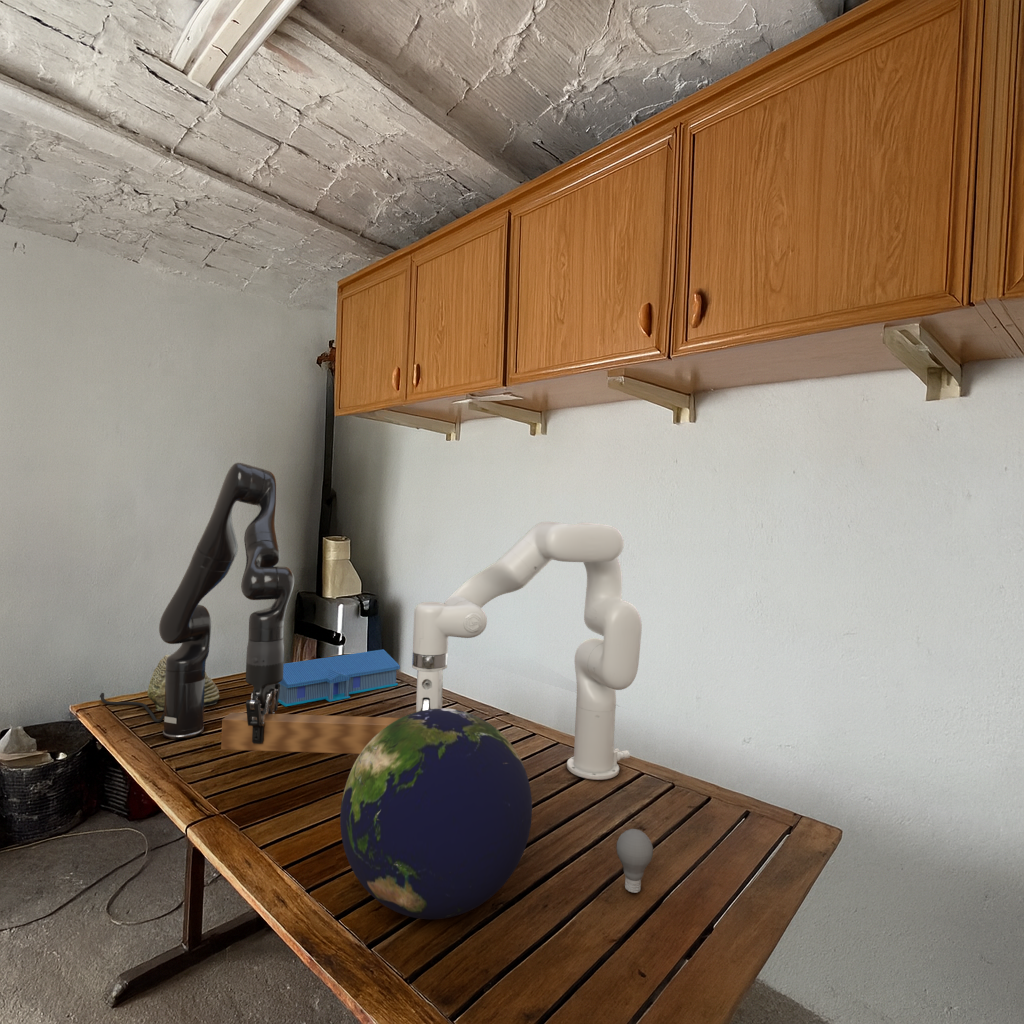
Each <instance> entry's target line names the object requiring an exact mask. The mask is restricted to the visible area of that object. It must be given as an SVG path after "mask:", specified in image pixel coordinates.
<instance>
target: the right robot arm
mask: <svg viewBox="0 0 1024 1024" xmlns="http://www.w3.org/2000/svg"><path fill="white" fill-rule="evenodd" d="M624 546H625V540H624V537H623V534H622V533H621V531H620V530H619V529H618V528H617V527H615V526H613V525H610V524H605V523H596V522H586V521H585V522H579V523H566V522H556V521H541V522H538V523H536V524H535V525H533V526H532V527H531V528H530V529H529V530H528V531H527V532H526V533H525V534H524V535H523V536H521V538H520V539H518V540H517V541H516V542H515V543H514V544H513V545H512V546H511V547H510V548H509V549H508V550H507V551H506V552H504V553H503V554H502V555H501V557H499V558H498V559H497V560H496V561H495V562H493V563H492V564H490V565H488V566H486V567H485V568H483V569H481V570H480V571H478V572H477V573H475V574H474V575H472V576H471V577H469V578H467V580H466V581H464V582H463V583H462V584H461V585H460V586H459V587H457V588H456V590H455V591H454V592H452V593H451V595H450V596H448V597H447V599H446V600H445V601H444V603H443V602H439V601H422V602H419V603H417V604H416V605H415V607H414V610H413V633H412V634H413V635H412V658H411V659H412V661H411V668H413V669H414V670H417V671H416V672H417V673H416V699H415V700H416V701H415V702H416V703H415V704H416V705H415V706H416V707H415V708H416V709H415V712H418V711H423V710H428V709H443V692H444V689H443V688H444V684H443V683H444V675H443V674H444V671H443V670H445V669H447V668H448V658H449V657H448V655H449V654H448V653H449V652H448V650H449V637H452V638H462V639H472V638H475V637H479V636H481V634H483V632H484V631H485V630H486V628H487V625H488V616H487V614H486V612H485V611H484V609H483V607H485V605H486V604H488V603H489V602H490V601H492V600H494V599H496V598H497V597H500V596H502V595H505V594H510V593H515V592H516V591H519V590H522V589H523V588H525V587H526V586H527V585H528V584H529V583H530V582H531V581H532V580H533V579H534V578H535V577H536V576H537V575H538V574H539V573H540V572H541V571H542V570H543V569H544V568H545V567H546V566H548V564H549V563H551V562H552V560H553V561H557V562H566V563H583V566H584V569H585V571H586V587H585V597H584V599H585V600H584V608H583V609H584V610H583V621H584V624H585V627H586V628H587V629H588V630H590V631H591V632H592V633H595V634H596V635H599V636H601V637H603V638H599V637H591V638H587V639H585V640H583V641H581V643H580V644H579V645H578V646H577V648H576V650H575V654H574V671H575V680H576V699H575V700H576V702H575V721H574V722H575V723H574V745H573V756H571V757H569V758H568V759H567V761H566V768H567V770H568V772H570V773H571V774H573V775H574V776H577V777H580V778H582V779H587V780H593V781H594V780H595V781H604V780H610V779H613V778H615V777H616V776H618V775H619V774H620V766H619V764H618V762H619V761H621V760H627V759H630V758H631V753H630V751H629V750H628V749H627V750H620V749H619V748H615V732H616V731H615V730H616V729H615V728H616V709H617V694H616V693H617V692H616V691H621V690H625V689H627V688H629V687H630V686H631V685H632V684H633V683H634V681H635V679H636V677H637V674H638V670H639V665H640V664H639V663H640V652H641V643H642V629H643V624H642V617H641V614H640V612H639V610H638V609H637V607H636V606H635V605H634V604H633V603H631V602H629V601H627V600H624V599H623V595H622V594H623V570H622V565H621V562H620V559H619V557H620V555H621V554H622V552H623V549H624Z"/></svg>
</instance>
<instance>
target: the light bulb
mask: <svg viewBox="0 0 1024 1024" xmlns="http://www.w3.org/2000/svg"><path fill="white" fill-rule="evenodd" d="M615 849H616V854H617V857H618V859H619V861H620V863H621V865H622V867H623V873H624V874H623V875H624V876H625V878H624V888H625V890H627V891H628V892H630V893H634V894H635V893H639V892H640V891H641V889H642V887H641V886H642V879H643V877H644V875H645V871H646V868H647V867H648V866H649V864H650V863H651V861H652V859H653V855H654V847H653V843H652V841H651V838H649V836H648V835H647V834H646V833H645V832H643V831H642V830H641V829H636V828H629V829H627V830H625V831H623V832H622V833H621V834H620V835H619V837H618V839H617V841H616V847H615Z"/></svg>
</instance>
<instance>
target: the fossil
mask: <svg viewBox="0 0 1024 1024" xmlns="http://www.w3.org/2000/svg"><path fill="white" fill-rule="evenodd" d="M170 655H171V654H165V655H164V656H163V657H162V658H161V659H160V660H159V662H158V663H157V666H156V667H155V669H154V670H153V672H152V675H151V677H150V680H149V684H148V688H147V697H148V699H149V700H150V701H152V703H153V704H154V706H155V711H158V712H159V711H162V712H163V711H164V705H165V674H166V660H167V658H168V657H169V656H170ZM220 698H221V696H220V690H219V688H218V686H217V685H216V683H215V682H214V681H213V679H212V678H211V677H209V675H208V674H207V672H206V671H205V693H204V707H207V706H213V705H215V704H217V703H218V701H219V699H220Z"/></svg>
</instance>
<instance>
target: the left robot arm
mask: <svg viewBox="0 0 1024 1024" xmlns="http://www.w3.org/2000/svg"><path fill="white" fill-rule="evenodd" d="M277 491H278V489H277V480H276V476H275V475H274V473H273V472H271V470H267V469H265V468H261V467H257V466H254V465H251V464H247V463H243V462H235V463H233V464H232V465H231V466H230V468H229V469H228V471H227V473H226V475H225V477H224V480H223V482H222V485H221V488H220V489H219V493H218V496H217V499H216V502H215V505H214V507H213V511H212V513H211V515H210V517H209V519H208V523H207V525H206V527H205V529H204V531H203V533H202V535H201V537H200V539H199V541H198V543H197V545H196V547H195V550H194V552H193V555H192V556H191V559H190V562H189V564H188V566H187V569H186V570H185V573H184V575H183V577H182V579H181V581H180V583H179V584H178V587H177V589H176V591H175V592H174V594H173V595H172V597H171V599H170V601H169V602H168V604H167V605H166V607H165V609H164V611H163V613H162V615H161V617H160V619H159V625H158V632H159V636H160V638H161V640H162V641H163V642H164V643H166V644H169V645H179V644H181V645H180V646H179V648H177V650H175V651H174V652H173V653H172V654H171V653H170V654H169V655H170V656H169V657H168V658H167V660H166V674H165V705H164V710H163V713H162V715H161V716H160V718H157V717H156V715H155V714H154V712H153V711H152V710H151V709H150V707H149V706H148V705H147V704H145V703H144V702H138V701H109V700H106V699H105V693H104V692H101V693H100V695H99V698H100V700H101V702H102V703H103V704H105V705H108V706H109V705H110V706H139V707H142V708H144V710H145V711H146V712H147V713H148V715H149V716H150V717H151V719H152V721H154V722H155V723H157V724H158V723H161V722H163V730H162V737H164V738H166V739H169V740H185V739H190V738H191V739H192V738H194V737H197V736H199V735H202V734H203V732H204V730H205V729H204V727H205V725H204V722H205V721H204V718H205V706H204V693H205V672H206V664H207V663H206V662H207V659H208V656H209V653H210V646H211V645H210V643H211V634H212V617H211V614H210V612H209V610H208V609H207V607H206V606H205V605H202V604H200V602H202V600H203V599H204V598H205V597H206V596H207V595H208V594H209V593H210V592H211V591H212V590H213V589H214V588H216V587H217V586H218V585H219V584H220V583H221V582H222V581H223V580H224V578H226V576H227V575H228V573H229V571H230V570H231V568H232V566H233V563H234V562H235V559H236V557H237V554H238V550H239V545H238V540H237V535H236V533H235V529H234V524H233V519H232V517H233V516H232V514H233V509H234V506H235V504H236V502H240V503H243V504H248V505H251V506H257V507H258V510H259V512H258V513H257V515H255V517H254V518H253V519H251V521H250V522H249V524H247V527H246V529H245V531H244V535H243V536H244V538H243V541H244V542H243V543H244V549H245V557H246V558H245V560H246V563H245V568H244V570H243V574H242V579H241V582H240V585H241V586H240V590H241V592H242V594H243V596H244V597H245V598H246V599H248V600H250V601H266V600H274V601H273V602H272V604H271V605H269V606H268V607H266V608H262V609H259V610H255V611H253V612H252V613H251V614H250V615H249V618H248V640H247V647H246V658H245V661H246V662H245V682H246V684H249V685H251V686H252V687H253V689H252V692H251V696H250V699H247V700H246V702H245V707H246V710H245V711H246V713H247V721H248V726H253V730H252V742H253V743H255V744H261V743H262V742H263V741H264V724H265V717H266V714H276V713H275V712H277V711H278V709H279V708H278V707H279V702H278V700H279V692H280V683H279V682H281V681H282V680H283V667H284V664H285V641H284V633H285V631H284V630H285V616H286V612H287V608H288V605H289V601H290V599H291V597H292V594H293V591H294V587H295V586H294V585H295V575H294V573H293V571H292V570H291V569H290V568H289V567H287V566H276V565H278V563H279V562H280V560H281V550H280V544H279V538H278V533H277V498H278V497H277V494H278V493H277ZM261 715H262V716H261ZM256 718H257V720H256Z"/></svg>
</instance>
